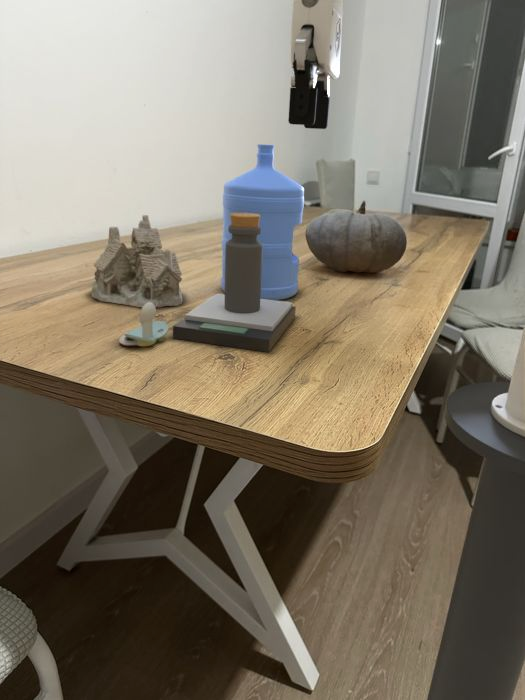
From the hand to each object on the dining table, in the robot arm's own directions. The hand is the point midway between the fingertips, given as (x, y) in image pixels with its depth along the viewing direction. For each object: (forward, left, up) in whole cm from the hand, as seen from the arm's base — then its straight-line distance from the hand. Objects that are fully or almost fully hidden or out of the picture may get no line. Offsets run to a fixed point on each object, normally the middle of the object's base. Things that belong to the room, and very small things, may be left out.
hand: (308, 126), depth 67 cm
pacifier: (+21, +8, -31) cm, 38 cm away
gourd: (-2, -59, -31) cm, 66 cm away
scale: (+10, -4, -30) cm, 32 cm away
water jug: (+13, -27, -31) cm, 43 cm away
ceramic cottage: (+33, -13, -31) cm, 47 cm away
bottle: (+10, -6, -28) cm, 30 cm away
